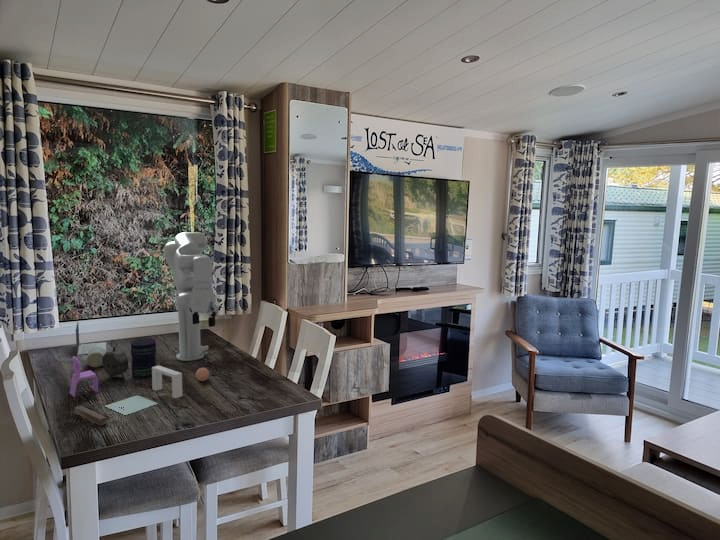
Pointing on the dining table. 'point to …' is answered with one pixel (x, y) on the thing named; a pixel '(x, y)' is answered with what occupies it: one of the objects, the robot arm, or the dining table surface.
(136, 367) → the storage jar
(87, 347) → the laptop
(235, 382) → the dining table surface
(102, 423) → the brown wooden bar
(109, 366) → the alarm clock
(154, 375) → the bridge
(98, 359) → the ceramic mug
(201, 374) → the ball
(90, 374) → the toy chair
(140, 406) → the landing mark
